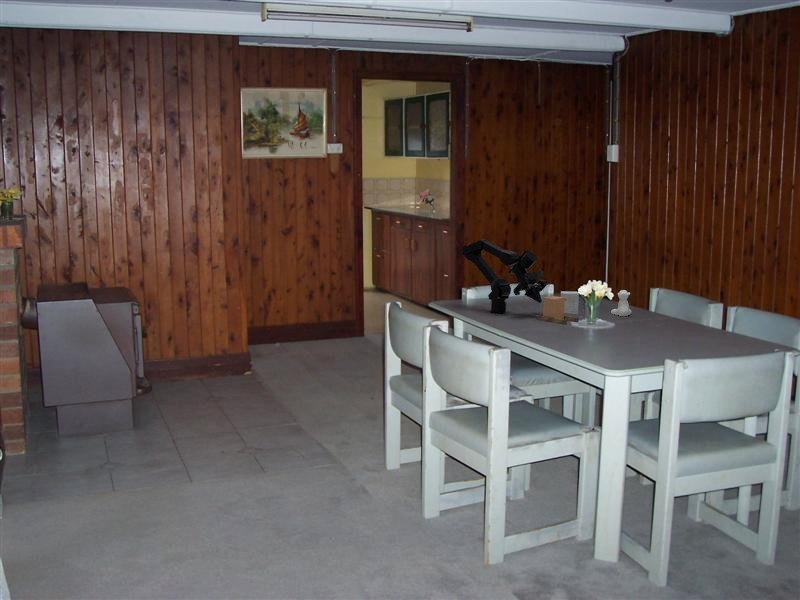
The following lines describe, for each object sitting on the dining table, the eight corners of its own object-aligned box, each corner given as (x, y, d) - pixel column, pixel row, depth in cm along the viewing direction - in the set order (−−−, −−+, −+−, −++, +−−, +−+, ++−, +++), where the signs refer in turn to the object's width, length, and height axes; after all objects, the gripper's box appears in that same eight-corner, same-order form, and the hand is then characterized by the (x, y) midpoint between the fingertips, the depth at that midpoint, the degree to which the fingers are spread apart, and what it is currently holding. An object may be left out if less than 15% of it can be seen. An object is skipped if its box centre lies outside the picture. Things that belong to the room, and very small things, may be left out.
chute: (535, 321, 387) (535, 315, 386) (549, 318, 393) (549, 312, 393) (568, 327, 374) (569, 321, 373) (582, 324, 380) (582, 318, 380)
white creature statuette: (631, 313, 409) (632, 288, 407) (635, 317, 401) (636, 291, 399) (610, 313, 409) (612, 288, 407) (614, 316, 401) (615, 291, 399)
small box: (576, 313, 408) (577, 291, 406) (578, 315, 402) (579, 293, 400) (559, 313, 408) (560, 291, 407) (560, 315, 403) (561, 292, 401)
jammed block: (543, 319, 385) (543, 297, 384) (552, 318, 390) (553, 295, 389) (554, 321, 381) (554, 299, 380) (563, 320, 386) (564, 297, 384)
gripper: (519, 265, 385) (538, 293, 378) (545, 262, 397) (564, 289, 391) (505, 281, 392) (523, 308, 385) (531, 277, 404) (549, 304, 398)
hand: (540, 302), depth 390 cm, fingers closed
